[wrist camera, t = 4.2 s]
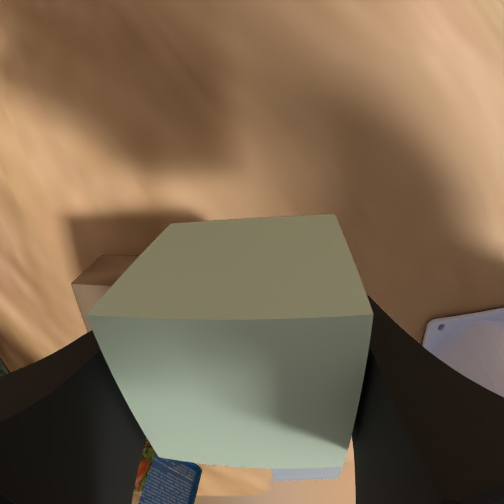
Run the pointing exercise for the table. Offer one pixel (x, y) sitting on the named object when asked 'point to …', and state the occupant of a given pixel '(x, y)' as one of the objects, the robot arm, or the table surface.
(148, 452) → the blue food package
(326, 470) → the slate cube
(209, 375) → the sage cube
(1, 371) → the rose bouquet
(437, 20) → the table surface
